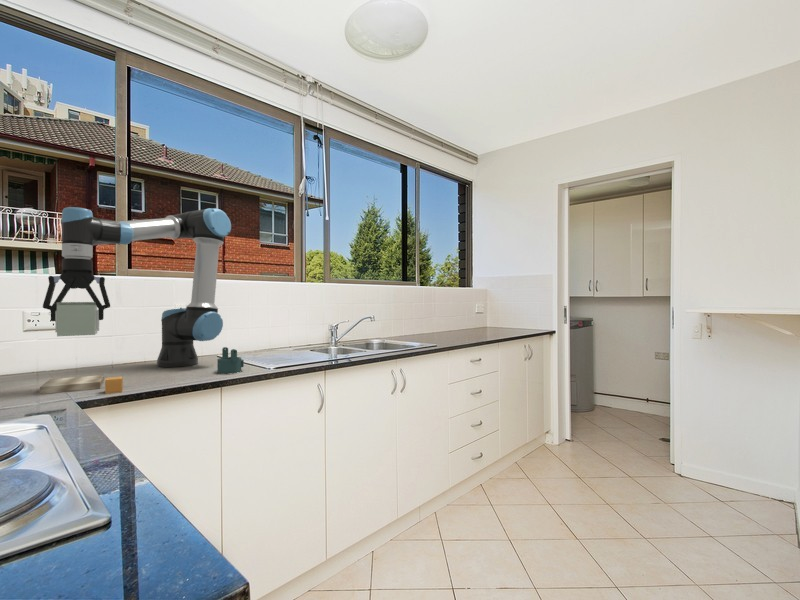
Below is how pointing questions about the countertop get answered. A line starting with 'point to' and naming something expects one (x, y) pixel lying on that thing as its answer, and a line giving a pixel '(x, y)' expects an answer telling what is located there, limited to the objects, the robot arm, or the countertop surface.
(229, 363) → the bracket
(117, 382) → the block
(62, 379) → the birch board
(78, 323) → the sage green cube
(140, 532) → the countertop surface
